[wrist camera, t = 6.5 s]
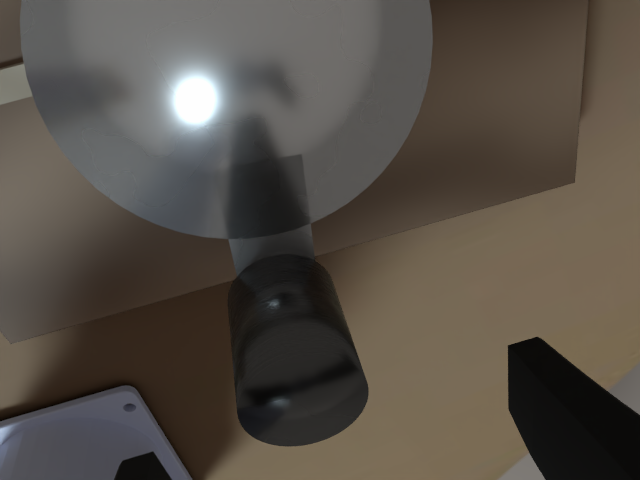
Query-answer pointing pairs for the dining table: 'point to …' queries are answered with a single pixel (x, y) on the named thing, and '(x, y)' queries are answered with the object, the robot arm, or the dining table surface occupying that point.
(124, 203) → the grey disc with handle
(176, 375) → the dining table surface
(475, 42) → the lock base
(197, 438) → the dining table surface
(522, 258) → the dining table surface
